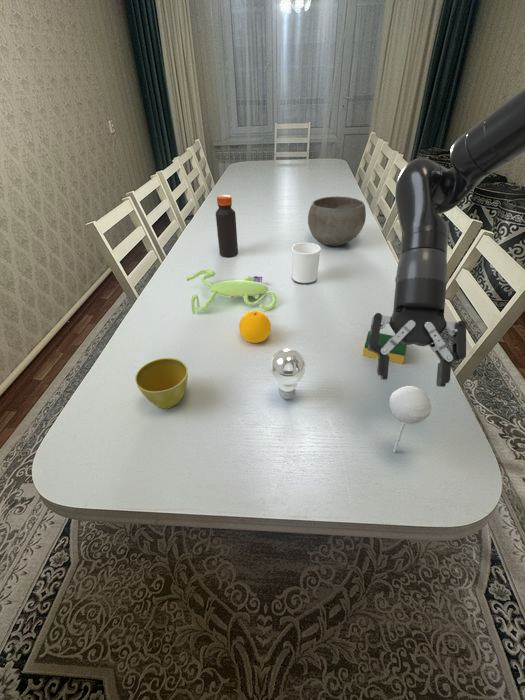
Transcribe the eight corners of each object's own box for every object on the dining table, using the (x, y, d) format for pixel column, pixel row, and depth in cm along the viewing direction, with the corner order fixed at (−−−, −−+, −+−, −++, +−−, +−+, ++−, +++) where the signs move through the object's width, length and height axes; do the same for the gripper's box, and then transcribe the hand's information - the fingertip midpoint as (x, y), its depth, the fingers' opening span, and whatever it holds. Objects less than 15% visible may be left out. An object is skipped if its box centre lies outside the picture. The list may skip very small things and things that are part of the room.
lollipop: (369, 449, 64) (385, 389, 55) (389, 432, 67) (407, 372, 57) (399, 473, 60) (422, 412, 51) (419, 453, 63) (444, 393, 54)
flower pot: (171, 376, 80) (165, 351, 76) (202, 396, 75) (198, 370, 71) (133, 402, 74) (124, 376, 70) (164, 426, 69) (156, 400, 65)
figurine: (190, 284, 114) (187, 267, 111) (273, 281, 115) (273, 264, 111) (182, 315, 100) (178, 298, 96) (277, 312, 100) (277, 294, 97)
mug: (309, 288, 110) (311, 256, 104) (285, 280, 115) (285, 249, 108) (326, 274, 117) (329, 244, 111) (303, 267, 121) (305, 238, 115)
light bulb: (267, 388, 77) (266, 343, 69) (298, 383, 77) (301, 339, 70) (273, 412, 71) (273, 367, 64) (307, 407, 72) (311, 361, 65)
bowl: (317, 229, 149) (320, 191, 140) (367, 236, 142) (373, 197, 133) (298, 247, 135) (300, 206, 126) (353, 256, 128) (359, 213, 118)
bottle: (235, 258, 129) (231, 200, 116) (217, 257, 130) (211, 199, 117) (240, 250, 134) (236, 194, 122) (222, 249, 135) (217, 193, 123)
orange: (235, 333, 93) (233, 308, 88) (264, 326, 95) (263, 301, 90) (245, 350, 87) (244, 325, 82) (275, 343, 89) (276, 317, 84)
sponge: (404, 349, 86) (407, 338, 84) (402, 364, 82) (405, 353, 80) (366, 341, 89) (368, 330, 87) (362, 355, 84) (364, 345, 82)
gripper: (378, 272, 55) (368, 376, 54) (478, 279, 53) (470, 388, 51) (371, 286, 63) (362, 378, 61) (458, 293, 60) (451, 389, 59)
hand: (412, 382), depth 56 cm, fingers open, 8 cm apart
